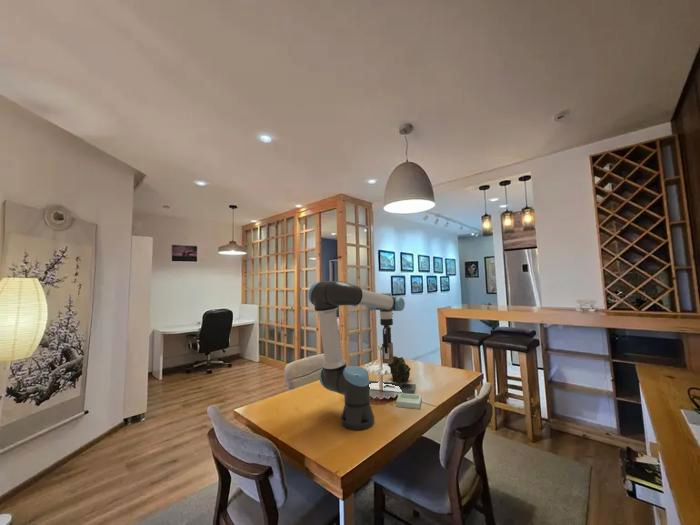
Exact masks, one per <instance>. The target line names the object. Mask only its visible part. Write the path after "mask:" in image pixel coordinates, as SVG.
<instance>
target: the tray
mask: <svg viewBox="0 0 700 525" xmlns="http://www.w3.org/2000/svg"><path fill="white" fill-rule="evenodd" d="M422 399H423V398H422V394H415V393H414V394H408V393H398V396H397V398H396V401H395V404H396V407H397V408H406V409H413V410H414V409H415V410H421V404H422Z"/></svg>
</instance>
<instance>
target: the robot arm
mask: <svg viewBox="0 0 700 525" xmlns="http://www.w3.org/2000/svg"><path fill="white" fill-rule="evenodd" d="M307 296H308V300H309V303H311V304H312V305H313V306H314V311H315V312H316V313H317V314H318V319H319V320H318V321H319V327H320V333H321V341H322V349H323V356H324V362H323V363H322V367H321V368H320V372H319V376H318V378H319V382H320V385H321V386H322V387H323V388H325V389H326V390H329V391H331V392H333V393H337V394H340V395H342V396H343V397H344V399H343V400H344V405H343V408H342V413H341V416H340V424H341V426H343V427H344V428H346V429H347V430H351V431H361V430H366V429H369V428H371V427H373V425H374V424H375V415H374V412H373V409H372V406H371V400H370V399H371V396H370V395H371V394H370V393H371V392H370V391H371V390H370V387H369V382H370V381H369V380H370V374H369V372H368V370H367V369H366V368H364V367H362V366H354V365H349V366H347V362H346V360H345V359H343V354H342V347H341V340H340V338H341V337H340V332H339V324H338V316H337V310H338V309H339V307H342V306H353V307H356V306H364V307H365V306H366V309H367V310H369V311H379V317H380V320H379V323H380V326H383V328H382V344H383V348H384V359H389V348H388V343H392V331H391V330H392V327H391V326H393V324H394V322H393V321H394V320H393V315H394V312H402V311H403V310H404V309H405V307H406V306H405V305H406V303H405V300H404V298H403V297H400V296H392V293H391V292H380V293H379V292H375V291H370V290H366V289H362V288H361V287H360V286H358V285H355V284H351V283H348V282H345V281H342V280H331V281H330V280H328V281H327V280H323V281H318V282H314V283H313V284H312V285H311V286H310V288H309V290H308V295H307Z"/></svg>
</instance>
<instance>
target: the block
mask: <svg viewBox="0 0 700 525" xmlns="http://www.w3.org/2000/svg"><path fill="white" fill-rule="evenodd" d="M393 344H394V343H393V342H391V343H388V348H389V359H384V348H383V343H382V344H381V358H382V360H381V362H382V364H387V365H388V364H392V363H393V357H394V345H393Z"/></svg>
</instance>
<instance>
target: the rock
mask: <svg viewBox="0 0 700 525" xmlns="http://www.w3.org/2000/svg"><path fill="white" fill-rule="evenodd" d="M387 367H388V368H390V374H391V378H392V382H395V383H409V382H408V381H409V378H410V374H411V373H410V371H411V367H409V365H408V364H407V363H406V361H405V359H404V357H403V356H401V357H398V356H396V355H395V356H394V355H393V363H392V364H387Z"/></svg>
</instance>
